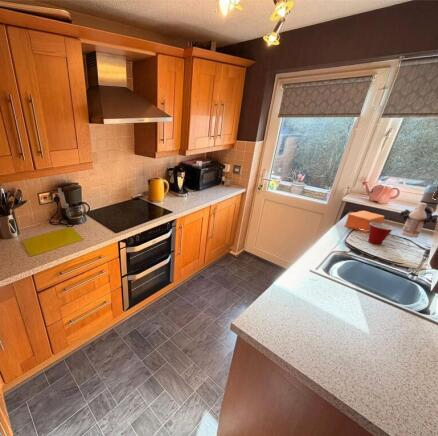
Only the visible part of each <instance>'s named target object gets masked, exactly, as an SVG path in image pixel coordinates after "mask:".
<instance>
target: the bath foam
mask: <svg viewBox="0 0 438 436" xmlns="http://www.w3.org/2000/svg"><path fill="white" fill-rule="evenodd" d="M426 205H427V204H426V203H420V202H419V203H418V205H417V206H416V208H417V209H416V208H415V209H416V210H415V209H413V210H411V211H412V212H411V213H410V214H409V216H408V218H407V219H406V220H405V223H404V224H403V227H402V230H401V233H400V234H401V235H402V236H404V237H407V238H412V239H416V238H419V235H420V234H421V231H422V230H423V227H424V224H423V223H424V221H425V219H426V218H427V215H426V212H425V208H426Z"/></svg>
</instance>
